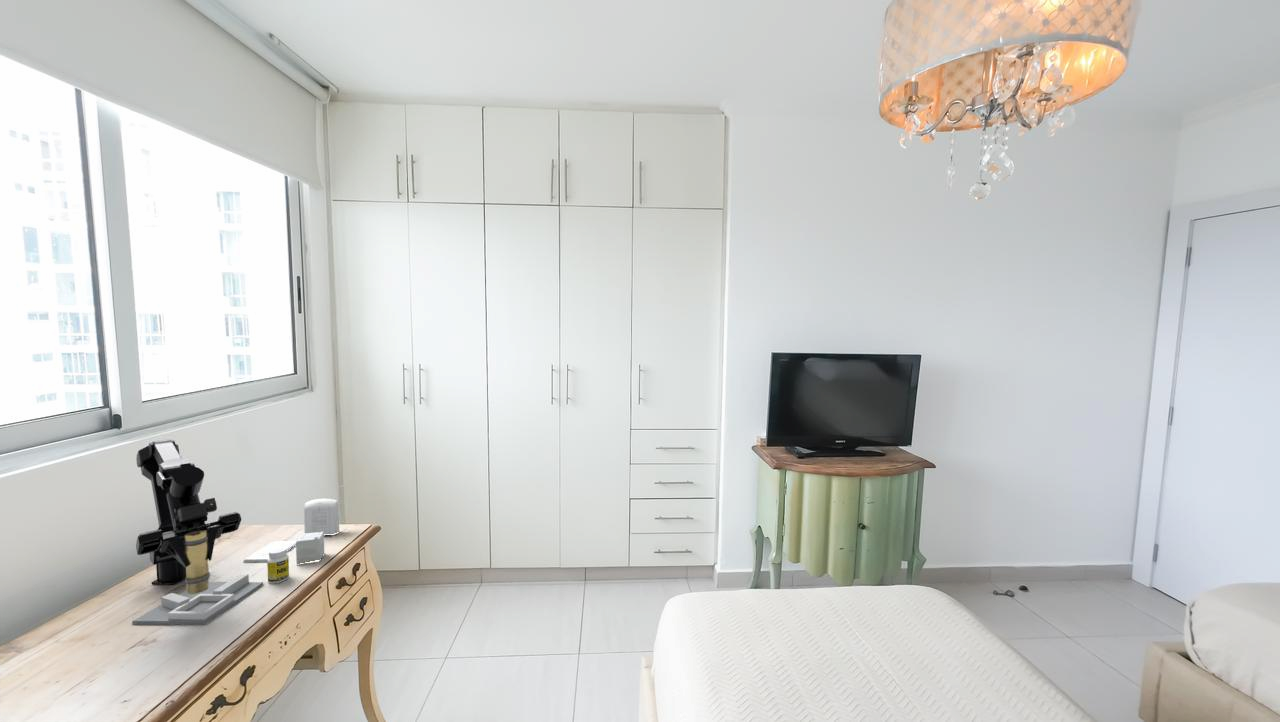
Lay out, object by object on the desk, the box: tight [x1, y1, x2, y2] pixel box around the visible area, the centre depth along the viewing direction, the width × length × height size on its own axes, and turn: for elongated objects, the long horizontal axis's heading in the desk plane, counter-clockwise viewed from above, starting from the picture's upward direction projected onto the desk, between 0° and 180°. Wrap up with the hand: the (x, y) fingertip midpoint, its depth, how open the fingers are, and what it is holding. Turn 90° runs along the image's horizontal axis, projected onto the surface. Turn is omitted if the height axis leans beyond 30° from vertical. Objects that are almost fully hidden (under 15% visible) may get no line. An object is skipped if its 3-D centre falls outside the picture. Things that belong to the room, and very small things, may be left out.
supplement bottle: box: [266, 547, 290, 584], centre depth 136 cm, size 5×5×8 cm
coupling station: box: [131, 573, 264, 626], centre depth 124 cm, size 17×18×3 cm
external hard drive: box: [242, 540, 297, 563], centre depth 152 cm, size 2×8×12 cm
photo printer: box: [303, 498, 340, 534], centre depth 166 cm, size 10×4×12 cm, turn 103°
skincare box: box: [295, 532, 325, 565], centre depth 148 cm, size 6×6×7 cm
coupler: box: [184, 530, 211, 594], centre depth 119 cm, size 4×4×14 cm
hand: (198, 563), depth 118 cm, fingers closed on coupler, 4 cm apart
